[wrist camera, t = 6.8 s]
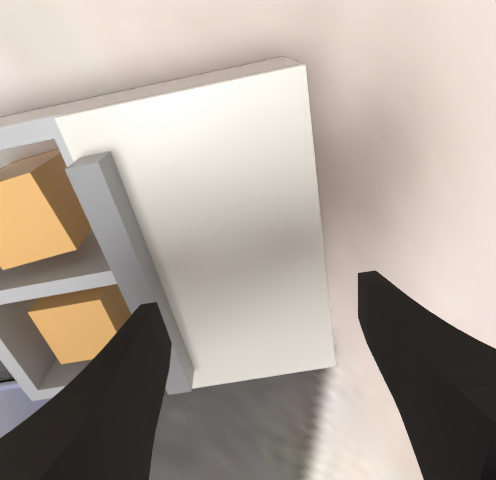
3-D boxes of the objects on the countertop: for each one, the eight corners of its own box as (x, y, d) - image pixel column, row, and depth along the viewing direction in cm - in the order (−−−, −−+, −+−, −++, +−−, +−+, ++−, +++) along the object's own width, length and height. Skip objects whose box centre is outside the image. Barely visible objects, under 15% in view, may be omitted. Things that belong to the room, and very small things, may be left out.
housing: (313, 292, 25) (331, 353, 20) (69, 333, 26) (31, 401, 21) (283, 56, 18) (301, 63, 13) (-53, 128, 19) (-153, 159, 14)
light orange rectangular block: (109, 207, 22) (76, 249, 17) (48, 224, 22) (2, 270, 18) (75, 143, 20) (29, 172, 15) (10, 163, 20) (-52, 197, 16)
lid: (333, 357, 20) (342, 388, 18) (176, 382, 21) (171, 414, 19) (302, 63, 13) (313, 67, 11) (61, 115, 13) (35, 126, 12)
